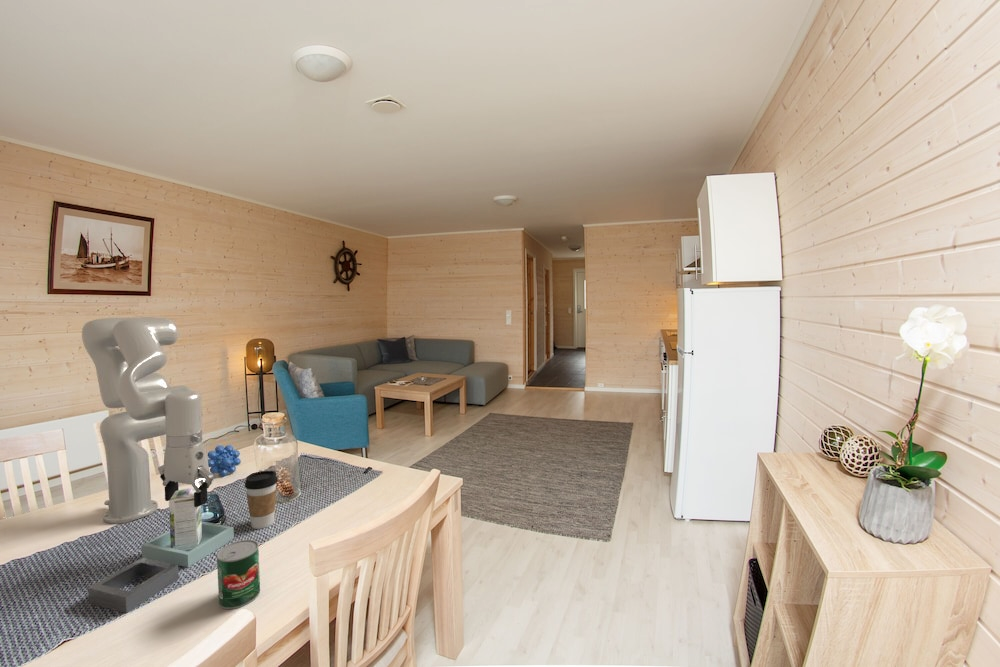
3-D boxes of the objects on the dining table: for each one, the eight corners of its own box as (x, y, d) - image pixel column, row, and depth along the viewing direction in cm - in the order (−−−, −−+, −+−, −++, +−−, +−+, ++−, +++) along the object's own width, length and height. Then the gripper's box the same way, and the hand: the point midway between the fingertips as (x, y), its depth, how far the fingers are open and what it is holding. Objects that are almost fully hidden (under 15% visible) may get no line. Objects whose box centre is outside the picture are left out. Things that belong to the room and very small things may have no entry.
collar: (88, 603, 90) (87, 587, 90) (143, 571, 101) (142, 557, 101) (126, 613, 88) (125, 597, 87) (178, 579, 98) (177, 565, 98)
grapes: (211, 484, 148) (210, 451, 147) (203, 479, 152) (202, 447, 151) (246, 473, 158) (245, 442, 157) (237, 469, 161) (236, 439, 160)
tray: (142, 557, 106) (141, 545, 106) (191, 530, 119) (190, 519, 119) (188, 567, 103) (187, 554, 102) (233, 538, 115) (233, 527, 115)
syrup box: (176, 542, 111) (173, 490, 110) (203, 537, 114) (200, 486, 113) (170, 554, 106) (167, 499, 105) (198, 548, 109) (195, 495, 108)
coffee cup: (264, 533, 118) (262, 481, 117) (239, 529, 120) (237, 478, 119) (285, 518, 126) (284, 470, 125) (261, 514, 128) (259, 467, 127)
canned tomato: (244, 580, 98) (243, 536, 97) (268, 590, 95) (266, 544, 94) (210, 603, 91) (208, 555, 90) (234, 614, 88) (232, 564, 87)
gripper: (224, 438, 110) (225, 500, 112) (173, 430, 114) (175, 490, 116) (197, 448, 103) (198, 514, 104) (143, 439, 107) (146, 503, 109)
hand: (186, 501), depth 110 cm, fingers open, 9 cm apart
